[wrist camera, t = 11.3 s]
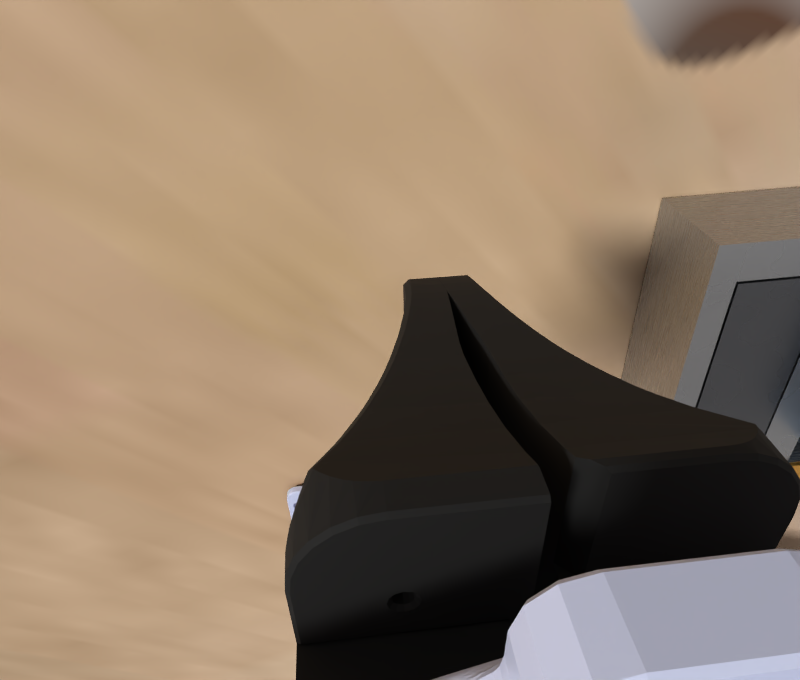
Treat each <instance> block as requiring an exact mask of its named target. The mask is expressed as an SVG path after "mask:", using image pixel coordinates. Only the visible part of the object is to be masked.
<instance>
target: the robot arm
mask: <svg viewBox="0 0 800 680" xmlns="http://www.w3.org/2000/svg"><path fill="white" fill-rule="evenodd" d="M403 292H404V315H403V319H402V323H401V327H400V331H399V335H398V338H397V341H396V343H395V346H394V349H393V352H392V355H391V357H390V360H389V362H388V364H387V366H386V369H385V371H384V373H383V375H382V377H381V379H380V381H379V383H378V385H377V386H376V388H375V390H374V391H373V393H372V395H371V396H370V398H369V400H368V401H367V403H366V405H365V406H364V408H363V409H362V411H361V412H360V413H359V415H358V416H357V417H356V419H355V420H354V421H353V423H352V424H351V425H350V426H349V428H348V429H347V430H346V431H345V433H344V434H343V435H342V437H341V438H340V439H339V440H338V441H337V442H336V444H335V445H334V446H333V447H332V448H331V449H330V450H329V451H328V452H327V453H326V454H325V455H324V456H323V457H322V458H321V459H320V460H319V461H318V462H317V463H316V464H315V465H314V466H313V467H312V468H311V469H310V470H309V471H308V473H307V475H306V478H305V480H304V483H303V486H296V487H292V488H291V489H289V491H288V492H287V502H288V506H289V511H290V515H291V524H290V528H289V533H288V538H287V544H286V552H285V594H286V598H287V602H288V607H289V611H290V616H291V620H292V624H293V629H294V633H295V638H296V642H297V659H296V680H800V550H795V549H780V548H779V549H775V548H776V547H777V545H778V543H779V541H780V540H781V538H782V536H783V534H784V532H785V531H786V529H787V527H788V525H789V523H790V522H791V520H792V518H793V516H794V514H795V511H796V508H797V506H798V503H799V500H800V478H799V477H798V475H797V473H796V471H795V470H794V468H793V467H792V466H791V464H790V463H789V462H788V461H787V460H786V459H785V457H784V456H783V455H782V454H781V453H780V452H779V450H778V449H777V448H776V447H775V446H774V445H773V443H772V442H771V441H770V440H769V439H768V438H767V436H766V435H765V434H764V433H763V432H762V431H761V430H760V429H759V428H758V427H757V425H756V424H754V423H750V422H746V421H743V420H739V419H735V418H732V417H728V416H724V415H721V414H717V413H713V412H710V411H706V410H702V409H699V408H695V407H692V406H689V405H686V404H683V403H680V402H677V401H675V400H672V399H669V398H666V397H663V396H660V395H657V394H655V393H652V392H650V391H647V390H645V389H642V388H639V387H637V386H635V385H632V384H630V383H628V382H626V381H623V380H621V379H619V378H617V377H615V376H612V375H610V374H608V373H606V372H604V371H602V370H600V369H598V368H596V367H594V366H592V365H590V364H588V363H586V362H585V361H583V360H581V359H579V358H578V357H576V356H574V355H572V354H570V353H569V352H567V351H565V350H564V349H562V348H560V347H559V346H557V345H556V344H554V343H553V342H551V341H550V340H548V339H547V338H545V337H544V336H542V335H541V334H539V333H538V332H537V331H535V330H534V329H532V328H531V327H530V326H528V325H527V324H526V323H524V322H523V321H522V320H520V319H519V318H518V317H516V316H515V315H514V314H513V313H511V312H510V311H509V310H508V309H506V308H505V307H504V306H503V305H502V304H500V303H499V302H498V301H497V300H496V299H494V298H493V297H492V296H491V295H490V294H489V293H488V292H486V291H485V290H484V289H483V288H482V287H481V286H480V285H478V284H477V283H476V282H475V281H474V280H473V279H471V278H470V277H469V276H468V275H464V276H450V277H437V278H423V279H410V280H408V281H407V282H406V283H405V284H404V285H403Z"/></svg>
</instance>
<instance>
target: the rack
mask: <svg viewBox="0 0 800 680" xmlns="http://www.w3.org/2000/svg"><path fill="white" fill-rule="evenodd" d="M621 380H623V381H626V382H628V383H630V384H632V385H635V386H637V387H639V388H642V389H645V390H647V391H650V392H652V393H655V394H657V395H660V396H663V397H666V398H669V399H672V400H675V401H677V402H680V403H683V404H686V405H689V406H692V407H695V408H699V409H702V410H706V411H710V412H713V413H717V414H721V415H724V416H728V417H732V418H735V419H739V420H743V421H746V422H750V423H754V424H756V425H757V427H758V428H759V429H760V430H761V431H762V432H763V433H764V434H765V435H766V436H767V438H768V439H769V440H770V441H771V442H772V443H773V445H774V446H775V447H776V448H777V449H778V450H779V452H780V453H781V454H782V455H783V456H784V457H785V459H786V460H787V461H788V462H789V463H790V464H791V466H792V467H793V468H794V470H795V471H796V473H797V475H798V477H799V478H800V187H791V188H779V189H767V190H754V191H742V192H730V193H718V194H706V195H694V196H681V197H669V198H662V201H661V206H660V210H659V214H658V219H657V223H656V228H655V232H654V237H653V241H652V245H651V250H650V254H649V259H648V263H647V268H646V272H645V276H644V281H643V285H642V290H641V294H640V299H639V303H638V307H637V312H636V316H635V321H634V325H633V330H632V334H631V338H630V343H629V347H628V352H627V356H626V361H625V365H624V369H623V374H622V378H621Z"/></svg>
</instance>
